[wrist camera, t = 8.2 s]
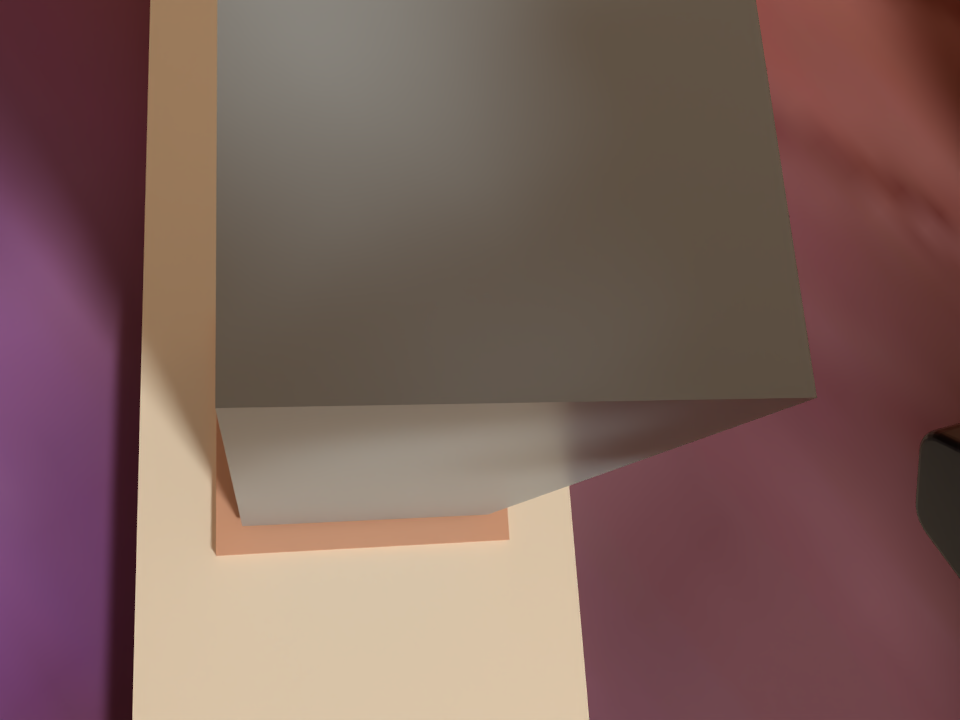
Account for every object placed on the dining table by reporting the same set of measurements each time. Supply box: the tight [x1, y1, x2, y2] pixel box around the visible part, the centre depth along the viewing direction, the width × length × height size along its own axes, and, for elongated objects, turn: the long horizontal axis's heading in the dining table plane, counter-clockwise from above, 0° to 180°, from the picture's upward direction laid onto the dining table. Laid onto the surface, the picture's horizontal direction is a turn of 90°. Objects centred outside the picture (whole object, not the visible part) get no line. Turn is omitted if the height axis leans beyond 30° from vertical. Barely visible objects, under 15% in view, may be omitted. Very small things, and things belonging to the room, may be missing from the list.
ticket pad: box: [132, 0, 589, 720], centre depth 20 cm, size 20×9×1 cm, turn 3°
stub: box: [215, 0, 817, 526], centre depth 13 cm, size 4×5×12 cm
